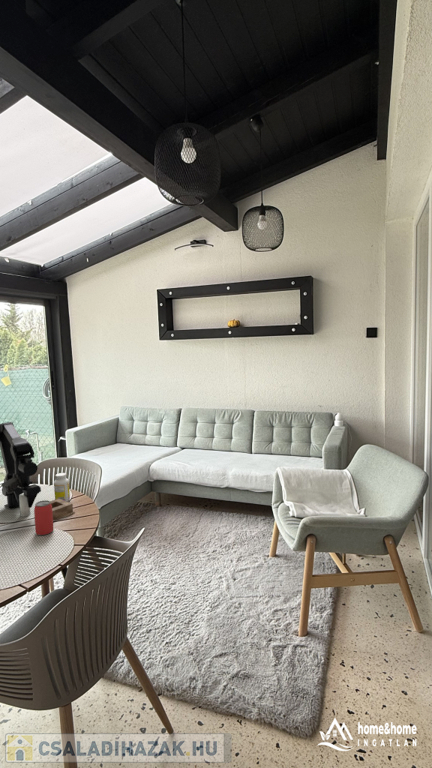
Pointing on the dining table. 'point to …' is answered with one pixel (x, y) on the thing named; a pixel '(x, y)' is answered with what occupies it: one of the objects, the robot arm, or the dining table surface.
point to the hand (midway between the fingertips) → (24, 505)
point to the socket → (61, 508)
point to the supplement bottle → (61, 487)
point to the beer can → (43, 518)
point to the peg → (23, 506)
